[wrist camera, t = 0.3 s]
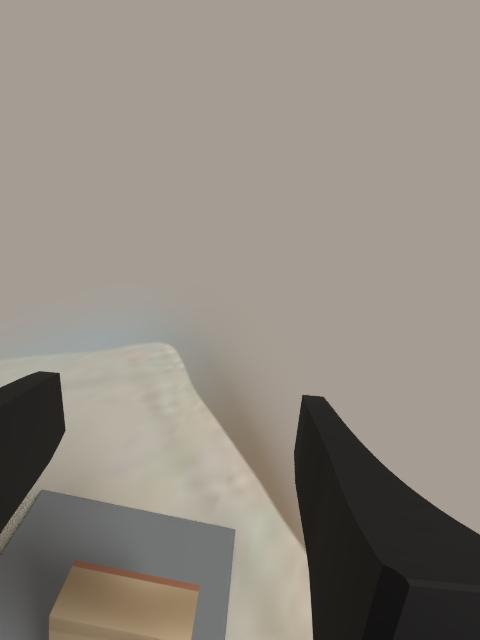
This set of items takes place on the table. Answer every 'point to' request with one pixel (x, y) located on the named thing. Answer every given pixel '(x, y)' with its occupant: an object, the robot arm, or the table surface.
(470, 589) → the robot arm
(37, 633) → the rubber mat
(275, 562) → the table surface
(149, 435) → the table surface
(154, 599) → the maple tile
